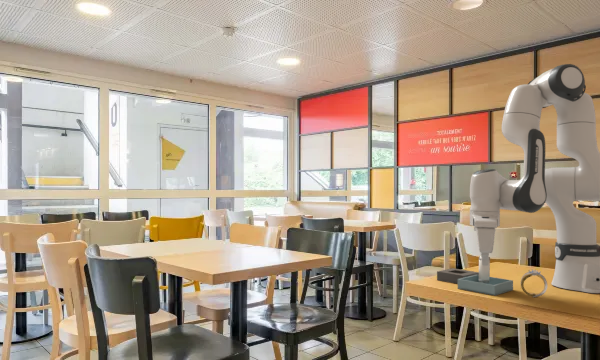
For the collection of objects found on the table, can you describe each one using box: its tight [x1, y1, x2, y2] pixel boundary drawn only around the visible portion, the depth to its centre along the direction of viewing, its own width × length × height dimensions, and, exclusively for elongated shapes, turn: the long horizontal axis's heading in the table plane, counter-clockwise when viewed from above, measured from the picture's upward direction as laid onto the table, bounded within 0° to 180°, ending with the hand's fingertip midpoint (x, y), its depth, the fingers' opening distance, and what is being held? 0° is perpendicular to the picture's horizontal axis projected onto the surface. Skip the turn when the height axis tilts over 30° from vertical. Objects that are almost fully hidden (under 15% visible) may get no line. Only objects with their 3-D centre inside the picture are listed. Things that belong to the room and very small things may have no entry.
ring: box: [520, 269, 548, 298], centre depth 131 cm, size 7×3×8 cm, turn 68°
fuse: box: [478, 255, 491, 283], centre depth 142 cm, size 3×3×8 cm
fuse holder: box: [436, 267, 479, 285], centre depth 155 cm, size 10×10×3 cm
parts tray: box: [457, 275, 514, 297], centre depth 141 cm, size 12×12×3 cm
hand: (484, 264), depth 142 cm, fingers closed on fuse, 3 cm apart
